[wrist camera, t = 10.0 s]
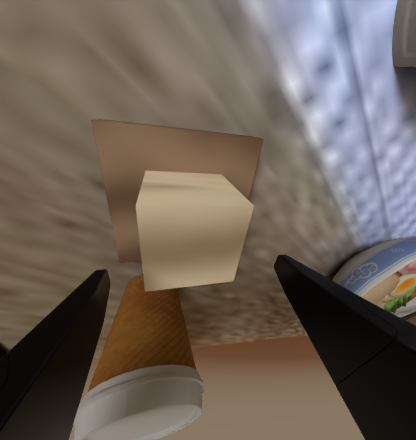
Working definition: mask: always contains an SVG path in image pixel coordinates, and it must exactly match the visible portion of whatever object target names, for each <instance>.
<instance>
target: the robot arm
mask: <svg viewBox="0 0 416 440" xmlns="http://www.w3.org/2000/svg"><path fill="white" fill-rule="evenodd" d="M274 269H275V271H276V274H277V276H278V278H279V281H280V283H281V285H282V288H283V290H284V292H285V294H286V296H287V298H288V300H289V302H290V303H291V305H292V307H293V309H294V311H295V312H296V314H297V316H298V318H299V320H300V322H301V323H302V325H303V327H304V329H305V331H306V333H307V334H308V336H309V338H310V340H311V341H312V343H313V345H314V347H315V349H316V351H317V352H318V354H319V356H320V358H321V360H322V361H323V363H324V365H325V367H326V369H327V371H328V372H329V374H330V376H331V378H332V380H333V382H334V383H335V385H336V387H337V389H338V391H339V393H340V395H341V396H342V398H343V400H344V402H345V404H346V406H347V407H348V409H349V411H350V413H351V415H352V416H353V418H354V420H355V422H356V423H357V425H358V427H359V429H360V431H361V433H362V435H363V437H364V438H365V440H416V325H414V324H412V323H410V322H408V321H406V320H404V319H402V318H400V317H398V316H396V315H394V314H392V313H390V312H388V311H386V310H384V309H382V308H381V307H379V306H377V305H375V304H373V303H371V302H369V301H368V300H366V299H364V298H362V297H360V296H359V295H357V294H354V293H353V292H351V291H350V290H348V289H346V288H344V287H343V286H341V285H339V284H337V283H335V282H334V281H332V280H330V279H328V278H327V277H325V276H323V275H321V274H319V273H318V272H316V271H314V270H312V269H310V268H309V267H307V266H305V265H303V264H302V263H300V262H298V261H296V260H294V259H293V258H291V257H289V256H287V255H279V256H278V257H277V260H276V262H275V264H274ZM109 290H110V279H109V275H108V272H107V270H105V269H104V270H96V271H95V272H94V273H92V274H91V275H90V276H89V277H88V278H87V279H86V280H85V281H84V282H83V283H82V284H81V285H80V286H79V287H77V288H76V289H75V290H74V291H73V292H72V293H71V294H70V295H69V296H68V297H67V298H66V299H65V300H64V301H62V302H61V303H60V304H59V305H58V306H57V307H56V308H55V309H54V310H53V311H52V312H51V313H50V314H49V315H47V316H46V317H45V318H44V319H43V320H42V321H41V322H40V323H39V324H38V325H37V326H36V327H35V328H34V329H33V330H31V331H30V332H29V333H28V334H27V335H26V336H25V337H24V338H23V339H22V340H21V341H20V342H19V343H18V344H16V345H15V346H14V347H13V348H12V349H11V350H10V351H9V353H8V354H6V353H5V352H4V351H3V350H2V349H0V440H69V436H70V433H71V430H72V427H73V423H74V420H75V417H76V413H77V410H78V406H79V403H80V400H81V396H82V393H83V389H84V386H85V383H86V379H87V376H88V373H89V369H90V366H91V362H92V359H93V356H94V353H95V349H96V346H97V343H98V339H99V336H100V333H101V329H102V326H103V322H104V318H105V312H106V307H107V301H108V295H109Z"/></svg>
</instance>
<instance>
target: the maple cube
mask: <svg viewBox="0 0 416 440" xmlns="http://www.w3.org/2000/svg"><path fill="white" fill-rule="evenodd" d="M253 208H254V205H253V204H252V203H251V202H250V201H249V200H247V199H246V198H245V197H244V196H243V195H242V194H241V193H240V192H239V191H238V190H237V189H236V188H235V187H234V186H233V185H232V184H231V183H230V182H229V181H228V180H227V179H226V178H225V177H224V176H223V175H222V174H203V173H183V172H163V171H145V175H144V178H143V182H142V185H141V189H140V192H139V196H138V199H137V203H136V214H137V223H138V232H139V241H140V251H141V260H142V269H143V278H144V287H145V292H147V291H156V290H164V289H172V288H181V287H189V286H197V285H206V284H214V283H222V282H231V281H234V278H235V274H236V270H237V267H238V263H239V259H240V256H241V252H242V248H243V245H244V241H245V237H246V234H247V230H248V226H249V223H250V219H251V215H252V212H253Z"/></svg>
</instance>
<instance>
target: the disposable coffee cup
mask: <svg viewBox="0 0 416 440" xmlns="http://www.w3.org/2000/svg"><path fill="white" fill-rule="evenodd" d="M204 388H205V386H204V383H203V380H202V379H201V378H200V375H199V373H198V371H197V370H196V367H195V363H194V359H193V354H192V351H191V346H190V342H189V338H188V334H187V330H186V325H185V321H184V317H183V313H182V309H181V305H180V300H179V296H178V292H177V288H172V289H164V290H156V291H147V292H145V287H144V278H143V275H140V276H137V277H136V278H134V279H132V280H131V281H130V282H129V283H128V284H127V286H126V289H125V292H124V295H123V297H122V300H121V303H120V306H119V308H118V311H117V314H116V316H115V319H114V322H113V324H112V327H111V330H110V333H109V336H108V338H107V341H106V343H105V346H104V349H103V352H102V355H101V357H100V360H99V363H98V366H97V368H96V371H95V374H94V377H93V379H92V382H91V385H90V387H89V390H88V392H87V394H86V395H85V396H84V398H83V399H82V402H81V405H80V406H79V407H78V410H77V413H76V417H75V420H74V423H73V425H74V426H75V434H74V440H157V439H160V438H162V437H165V436H167V435H169V434H172V433H174V432H176V431H178V430H180V429H182V428H183V427H185V426H187V425H189V424H190V423H192V422H193V421H194V420H196V419H197V418H198V417H199V416H200V415H201V412H202V393H203V391H204Z"/></svg>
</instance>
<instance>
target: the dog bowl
mask: <svg viewBox="0 0 416 440" xmlns="http://www.w3.org/2000/svg"><path fill="white" fill-rule="evenodd" d="M392 57H393V64H394V65H395V66H396V67H407V66H408V67H416V0H398V1H397V6H396V12H395V19H394V27H393V40H392Z"/></svg>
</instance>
